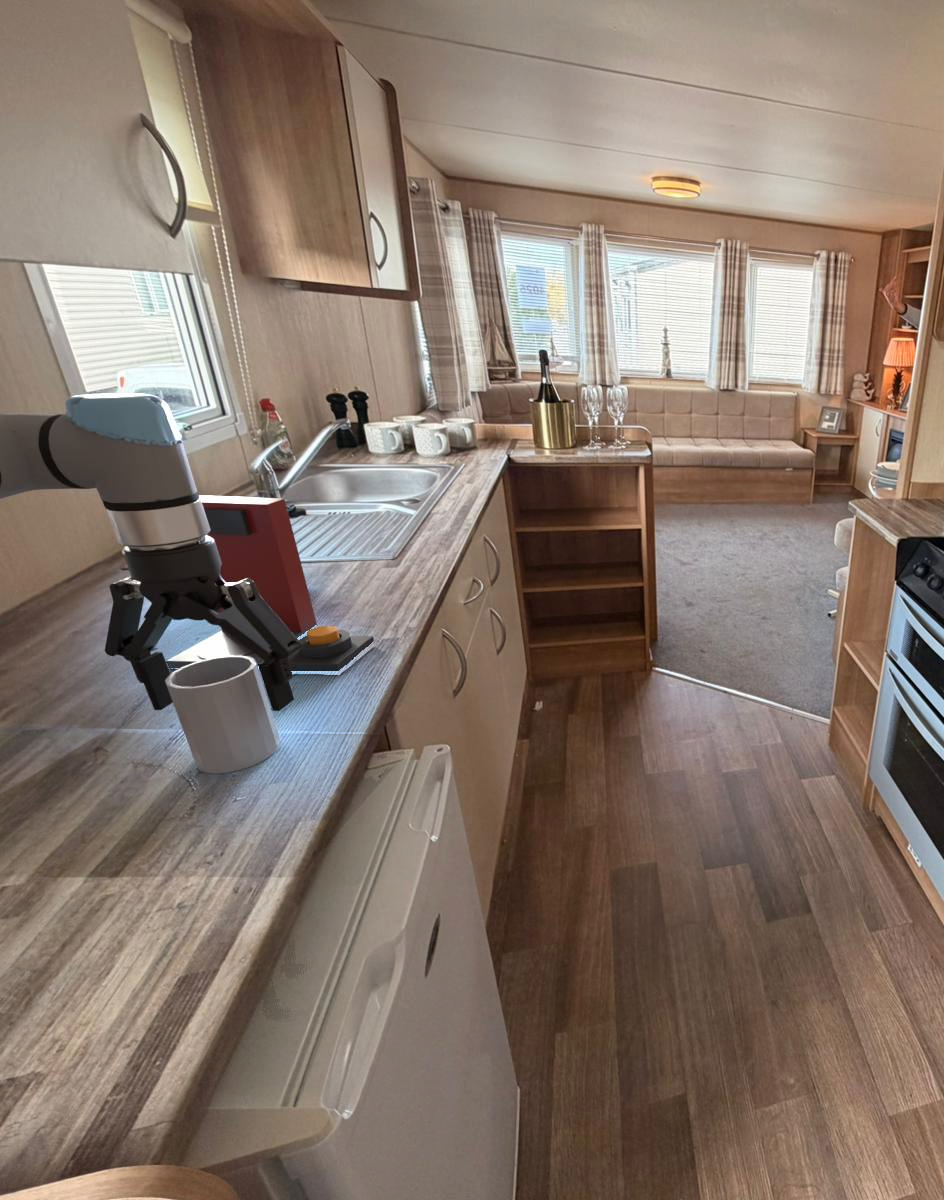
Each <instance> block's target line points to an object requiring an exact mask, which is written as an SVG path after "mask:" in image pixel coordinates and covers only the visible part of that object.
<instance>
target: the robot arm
mask: <svg viewBox="0 0 944 1200" xmlns="http://www.w3.org/2000/svg"><path fill="white" fill-rule="evenodd" d="M64 405H65V409H66V413H62V414H61V413H58V414H47V413H45V414H43V413H41V414H40V413H6V412H5V413H3V412H0V500H2V499H5V498H8V497H12V496H15V495H16V496H17V495H20V494H23V493H26V492H27V493H28V492H32V491H38V490H39V491H40V490H41V491H42V490H65V489H66V490H75V489H76V490H91V489H96V490H97V493H98V495H99V498H100V499H101V501H102V504H103V507H104V508H105V511H106V514H107V516H108V519H109V523H110V525H111V528H112V531H113V533H114V536H115V539H116V541H117V544H120V545H122V546H124V547H123V549H122V550H121V553H122V556H123V560H124V561H125V565H126V567H127V569H128V572H129V575H130V576H128V577H126V578H123V579H120V580H118V581H116V582H113V583H110V584H109V590H110V595H111V599H112V607H111V613H110V617H109V618H110V619H109V623H108V630H107V635H106V640H105V646H104V652H105V654H106V655H107V656H109V657H116V656H120V657H122V658H124V659H125V660H126V661H128V662H130V665H131V667H132V669H133V672H134V674H135V677H136V680H137V681H138V682H139V683H140V684H143V685H144V688H145V691H146V693H147V696H148V698H149V701H150V703H151V706H152V708H153V710H154V711H162V710H165V708H167V707H169V706H170V705H172V704H173V701H172V699H171V696H170V693H169V691H168V688H167V685H166V683H165V679H166V678H167V677H168V676H169V675H170V674H171V672H170V669H169V668H168V665H167V663H166V661H167V660H166V659H165V656H164V653H163V651H156V650H157V649H158V648H159V647H158V646H157V645H158V642H159V641H160V640H161V638H162V637H163V635H164V634H165V632H166V631H167V629H168V627H169V625H170V624H171V622H172V621H183V620H192V621H206V622H207V623H208V624H210V625H212V626H218V627H220V629H221V628H222V629H224V630H225V631H226V632H228V633H229V634H230V635H232V636H233V637H234V638H235V639H237V640H238V641H239V642H241V643H242V644H243V645H245V646H246V647H247V648H249V649H250V650H251V651H252V652H254V653H255V654H256V655H258V656H259V657H260V658H262V659H263V661H262V662H260V663H259V664H258V666H259V672H260V676H261V679H262V682H263V685H264V689H265V692H266V695H267V698H268V702H269V705H270V708H271V711H272V712H280V711H282V710H283V709H284V708H286V707H287V706H288V705H289V704H290V703H291V702H293V701H294V700H295V697H294V693H293V691H292V687H291V684H290V681H291V680H292V679H293V675H292V672H291V669H290V665H289V662H288V659H287V658H288V657H289V656H291V655H292V654H294V653H295V652H296V651H298V650H299V649H301V648H302V644H301V642H300V641H299V640H298V639H297V638H296V636H295V635H294V634H293V633H292V632H291V631H290V630H289V628H288V627H287V626H286V625H285V624H284V623H283V621H282V620H281V619H280V618H279V617H278V616H277V615H276V613H275V612H274V611H273V610H272V609H271V608H270V606H269V605H268V604H267V603H266V602H265V601H264V600H263V598H262V597H261V596H260V594H259V592H258V589H257V587H256V585H255V583H254V581H253V580H252V579H249V578H246V579H244V580H242V581H240V582H234V583H226V582H225V581H224V580H223V579H222V577H221V575H220V568H221V564H222V562H221V559H220V556H219V553H218V550H217V547H216V544H215V541H214V539H213V538H211V537H210V536H208V535H207V534H208V533H209V532H210V527H209V524H208V520H207V517H206V514H205V511H204V508H203V505H202V502H201V499H200V497H199V496H200V494H199V491H198V489H197V487H196V482H195V480H194V479H195V478H194V476H193V472H192V469H191V466H190V463H189V459H188V456H187V452H186V449H185V446H184V436H183V435H182V433H180V430H179V428H178V426H177V423H176V420H175V418H174V416H173V413H172V411H171V408H170V407H169V405H168V403H167V402H166V401H165V400H164V399H163V398H161V397H160V396H157V395H154V394H150V393H149V394H148V393H137V392H121V393H115V392H114V393H111V392H106V393H105V392H103V393H85V394H77V395H72V396H69V397H67V399H66V400H65V403H64ZM227 595H228V596H229V597H227ZM145 598H146V600H148V601H149V602H150V603H151V604H150V606H149V607H148V609H147V611H146V612H145V614H144V616H143V618H144V620H143V622H142V623H141V624H140V622H141V618H142V617H141V616H142V612H143V608H144V602H145ZM221 607H222V608H224V609H225V610H224V611H222V612H220V613H217V612H218V611H219V610H220V608H221ZM269 648H270V649H272V650H271V651H270V650H269ZM154 651H155V652H154ZM152 652H153V653H152Z"/></svg>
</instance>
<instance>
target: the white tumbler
mask: <svg viewBox="0 0 944 1200" xmlns="http://www.w3.org/2000/svg"><path fill="white" fill-rule="evenodd" d="M165 683H166V685H167V688H168V691H169V693H170V696H171V699H172V701H173V703H172V704H173V706H174V709H175V712H176V714H177V718H178V720H179V722H180V726H181V728H182V731H183V734H184V736H185V739H186V741H187V744H188V747H189V750H190V752H191V755H192V757H193V760H194V762H195V765H196V768H197V769H198V770H199V771H200V772H202V773H205V774H211V775H212V774H213V775H217V774H227V773H232V772H233V773H234V772H239V771H242V770H244V769H245V770H246V769H248V768H250V767H253V766H255V765H258V764H260V763H262V762H264V761H265V760H267V759H269V758H270V757H271V756H273V755H274V754H275V753H276V752H278V750H279V748H280V746H281V737H280V734H279V731H278V727H277V725H276V722H275V718H274V715H273V710H272V707H271V704H270V701H269V697H268V694H267V691H266V688H265V685H264V682H263V679H262V676H261V673H260V670H259V669H258V666H257V663H256V661H255V660H254V658H251V657H247V656H235V655H230V656H222V657H215V658H210V659H206V660H202V661H198V662H195V663H192V664H189V665H186V666H184V667H181V668H179V669H175V670H174V671H172V672H170V675H169V676H168V677H167V678H166V679H165Z"/></svg>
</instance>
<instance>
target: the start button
mask: <svg viewBox="0 0 944 1200" xmlns="http://www.w3.org/2000/svg"><path fill="white" fill-rule="evenodd" d="M338 630H339V629H338V627H337V626H335V625H321V626H318V627H317V628H314V629H311V630H309V631H308V632H307V636H308V640H309V643H310V645H323V644H329V643H332V642H335V641H337V640H339V639H340V637H339V633H338Z"/></svg>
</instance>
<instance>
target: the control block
mask: <svg viewBox="0 0 944 1200" xmlns="http://www.w3.org/2000/svg"><path fill="white" fill-rule="evenodd" d="M338 633H339V637H340V639H339V640H337V641H335V642H332V643H329V644H323V645H310V643H309V640H308V636H305V637H303V638H302V639H300V640H299V641H300V642H301V644H302V648H301V649H299V650H298V651H296V652H295V653H294V654H292V655H291V656H289V657H288V658H287V659H288V662H289V665H290V669H291V671H339V670H340V669H341V668H343V667H344V666H345V665H347V664H348V663H349V662H350V661H351V660H353V659H354V657H356V656H357V655H358V654H359V653H360V652H361V651H362V650H364V649H365V648H366V647H368V646H369V645H370V644H371V643H372V642H373V641H374V642H375V638H374V636H373V635H351V632H350V631H347V630H344V629H338Z"/></svg>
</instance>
